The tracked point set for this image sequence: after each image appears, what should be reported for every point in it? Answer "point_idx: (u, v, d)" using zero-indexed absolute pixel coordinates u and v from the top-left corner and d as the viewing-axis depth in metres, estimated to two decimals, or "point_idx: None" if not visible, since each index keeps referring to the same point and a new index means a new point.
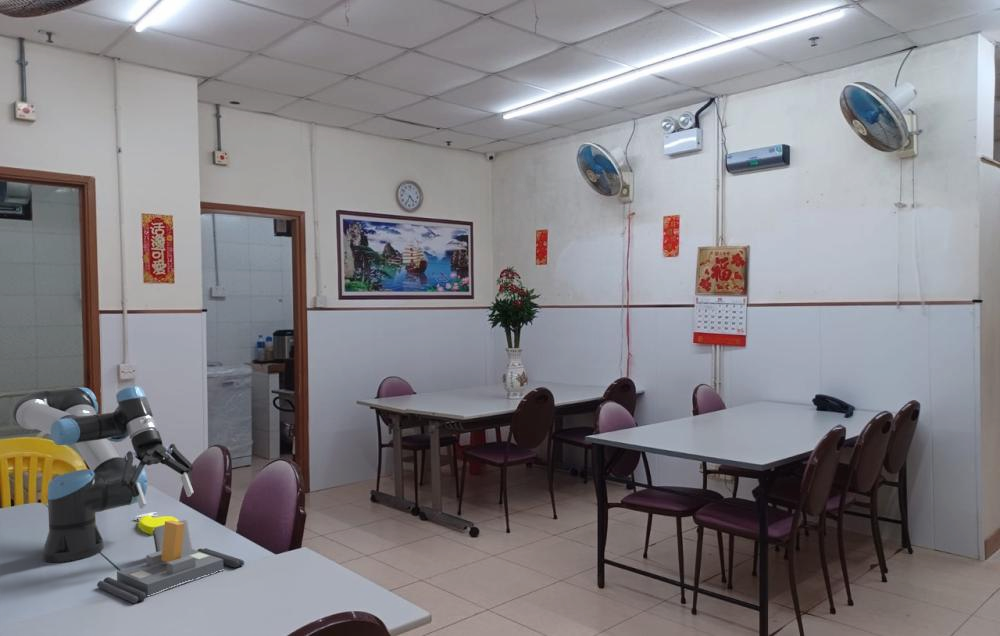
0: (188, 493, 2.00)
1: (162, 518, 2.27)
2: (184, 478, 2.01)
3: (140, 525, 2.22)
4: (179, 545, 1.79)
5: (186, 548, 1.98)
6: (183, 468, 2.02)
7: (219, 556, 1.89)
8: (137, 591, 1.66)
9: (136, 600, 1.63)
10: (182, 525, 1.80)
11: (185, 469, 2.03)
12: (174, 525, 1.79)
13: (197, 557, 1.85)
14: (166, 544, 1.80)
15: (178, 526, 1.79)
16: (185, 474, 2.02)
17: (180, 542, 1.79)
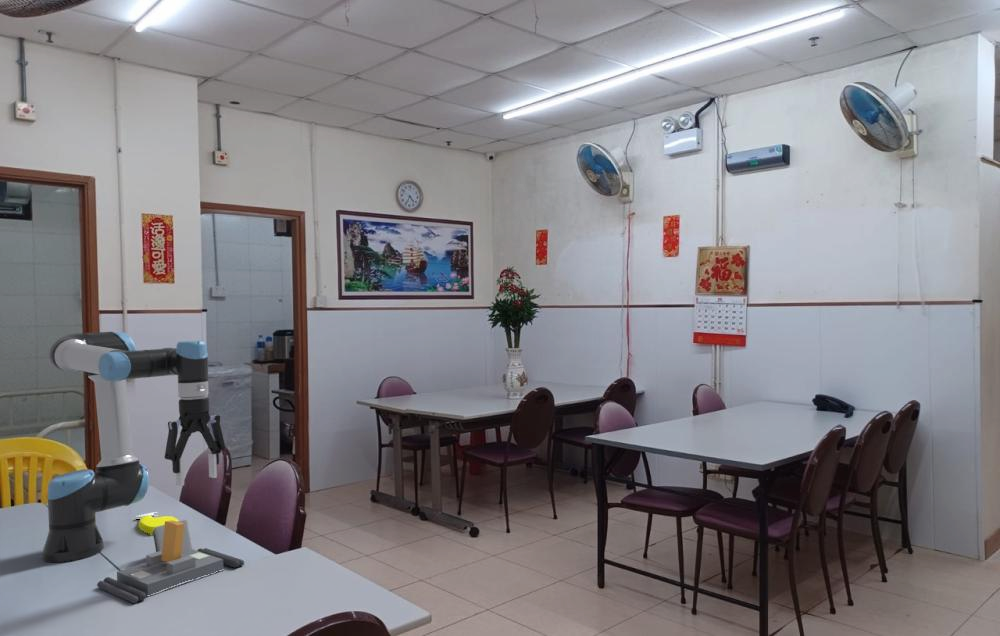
0: (211, 475, 1.90)
1: (162, 518, 2.27)
2: (212, 459, 1.90)
3: (140, 525, 2.22)
4: (179, 545, 1.79)
5: (186, 548, 1.98)
6: (215, 448, 1.90)
7: (219, 556, 1.89)
8: (137, 591, 1.66)
9: (136, 600, 1.63)
10: (182, 525, 1.80)
11: (216, 449, 1.90)
12: (174, 525, 1.79)
13: (197, 557, 1.85)
14: (166, 544, 1.80)
15: (178, 526, 1.79)
16: (214, 456, 1.89)
17: (180, 542, 1.79)
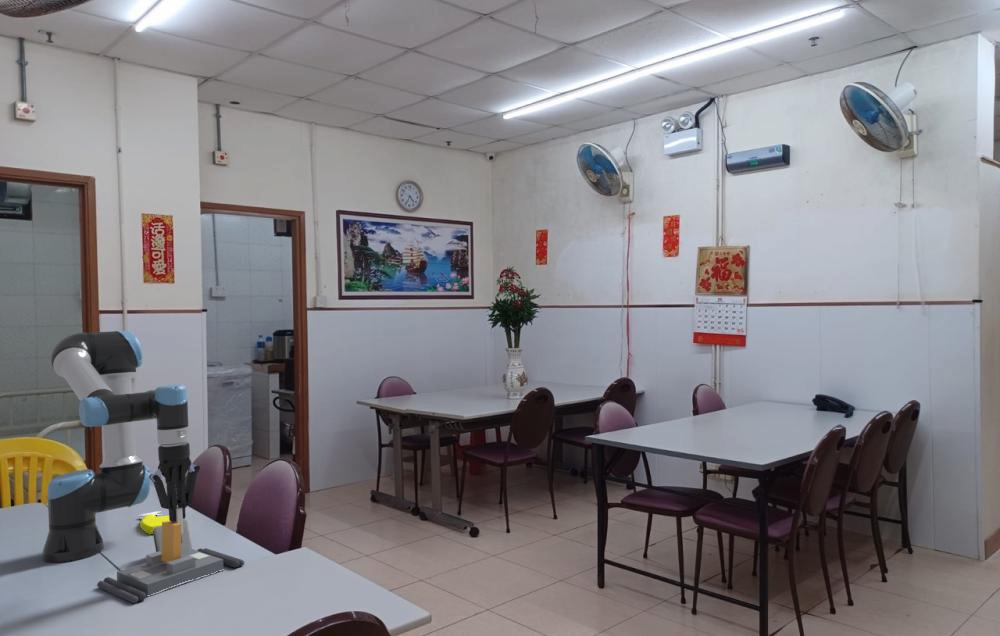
0: None
1: (163, 517, 2.27)
2: None
3: (141, 524, 2.23)
4: (178, 545, 1.79)
5: (186, 548, 1.98)
6: (182, 500, 1.82)
7: (219, 556, 1.89)
8: (137, 591, 1.66)
9: (136, 600, 1.63)
10: (179, 525, 1.79)
11: (183, 503, 1.82)
12: (171, 526, 1.79)
13: (197, 557, 1.85)
14: (165, 544, 1.80)
15: (175, 527, 1.78)
16: (180, 510, 1.81)
17: (179, 542, 1.79)
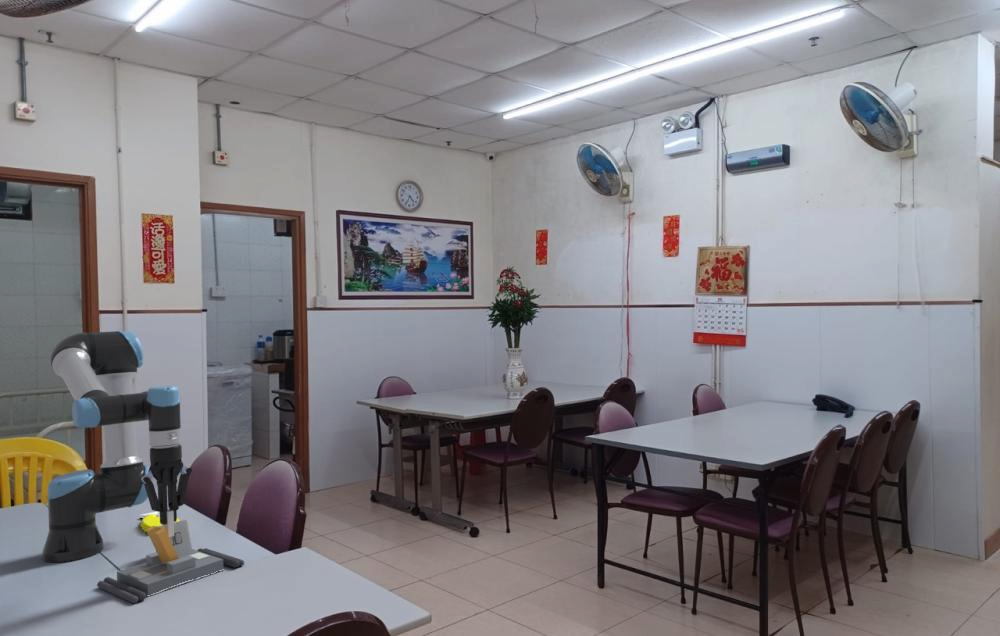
0: None
1: None
2: None
3: (142, 524, 2.23)
4: (170, 548, 1.77)
5: (186, 548, 1.98)
6: (174, 503, 1.80)
7: (219, 556, 1.89)
8: (137, 591, 1.66)
9: (136, 600, 1.63)
10: (164, 531, 1.76)
11: (174, 505, 1.80)
12: (156, 534, 1.75)
13: (197, 557, 1.85)
14: (158, 549, 1.79)
15: (160, 534, 1.75)
16: (171, 513, 1.79)
17: (170, 545, 1.77)
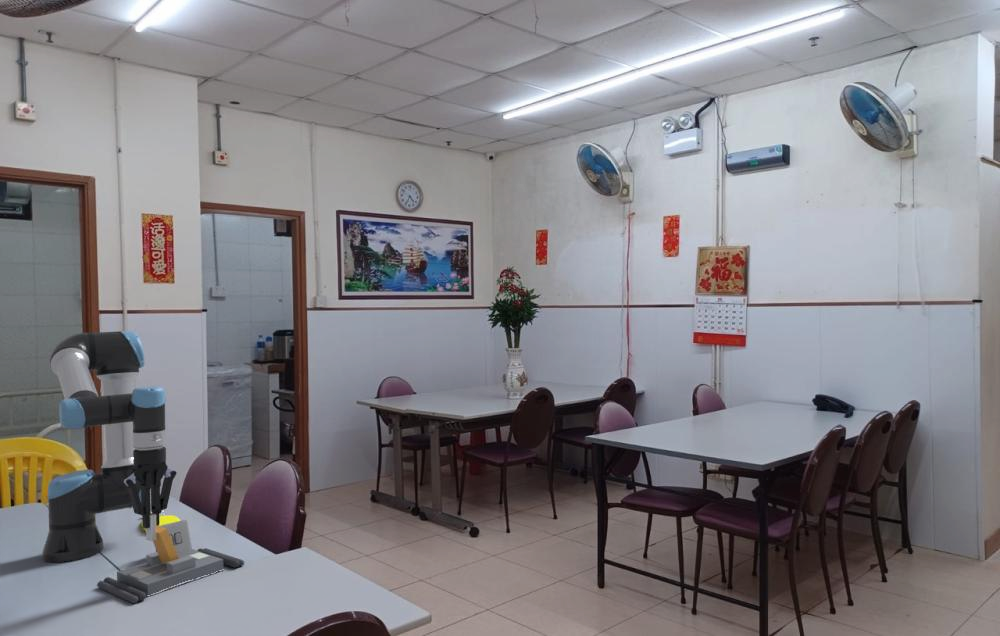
0: None
1: (165, 517, 2.28)
2: None
3: (142, 524, 2.24)
4: (171, 548, 1.77)
5: (186, 548, 1.98)
6: (157, 506, 1.76)
7: (219, 556, 1.89)
8: (137, 591, 1.66)
9: (136, 600, 1.63)
10: (165, 530, 1.76)
11: (157, 509, 1.76)
12: (157, 533, 1.76)
13: (197, 557, 1.85)
14: (159, 548, 1.79)
15: (161, 533, 1.75)
16: (154, 517, 1.76)
17: (171, 545, 1.77)
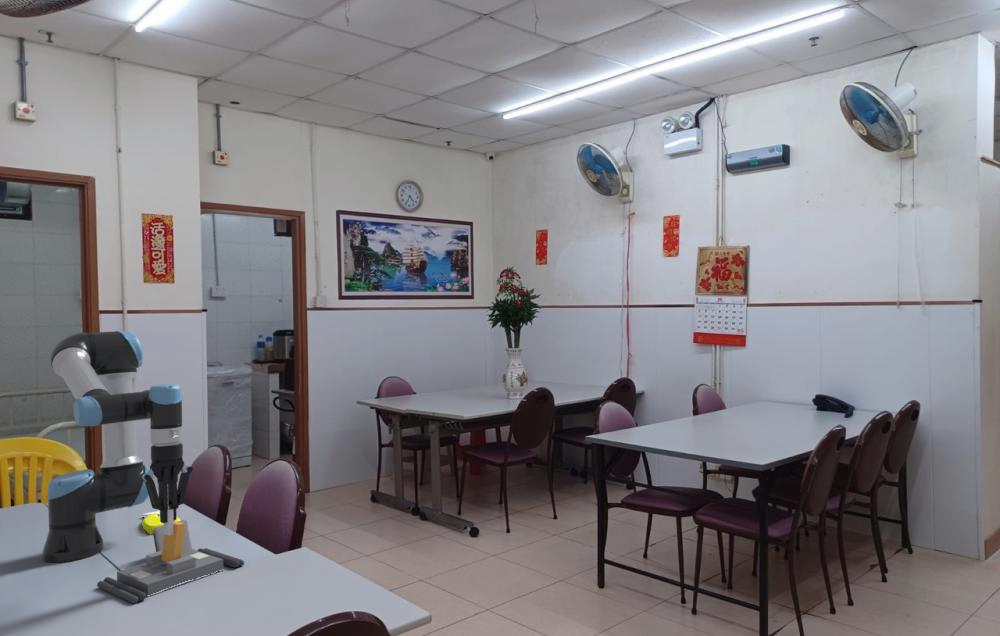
0: None
1: None
2: None
3: (143, 523, 2.24)
4: (179, 545, 1.79)
5: (186, 548, 1.98)
6: (174, 501, 1.80)
7: (219, 556, 1.89)
8: (137, 591, 1.66)
9: (136, 600, 1.63)
10: (183, 525, 1.80)
11: (174, 504, 1.80)
12: (175, 525, 1.79)
13: (197, 557, 1.85)
14: (166, 543, 1.81)
15: (179, 526, 1.79)
16: (171, 511, 1.79)
17: (180, 542, 1.79)
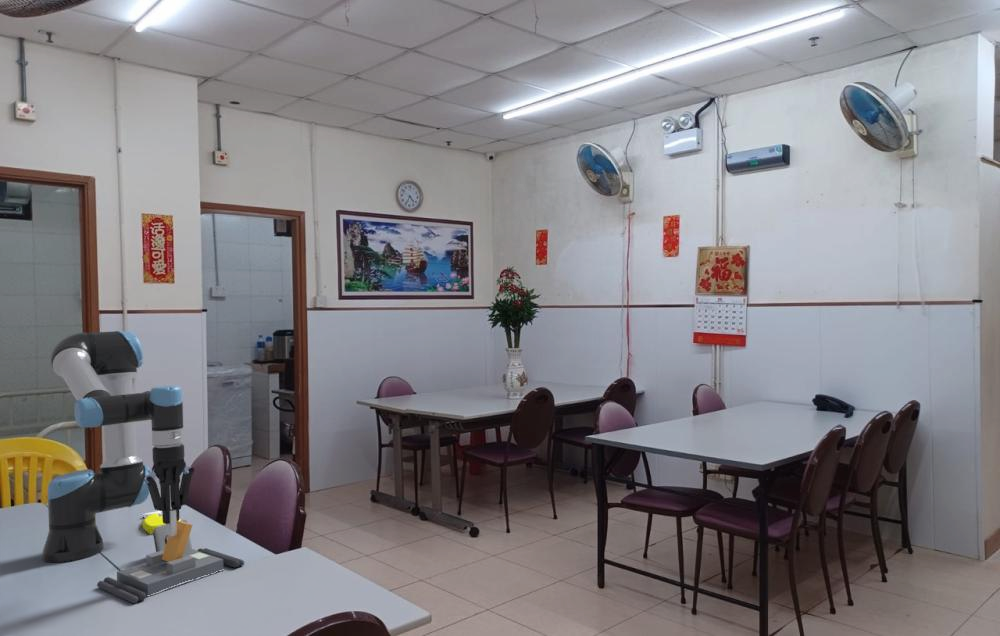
0: None
1: None
2: None
3: (143, 523, 2.24)
4: (183, 545, 1.80)
5: (186, 548, 1.98)
6: (176, 502, 1.81)
7: (219, 556, 1.89)
8: (137, 591, 1.66)
9: (136, 600, 1.63)
10: (190, 526, 1.82)
11: (177, 505, 1.81)
12: (183, 524, 1.81)
13: (197, 557, 1.85)
14: (170, 543, 1.81)
15: (186, 525, 1.81)
16: (174, 512, 1.80)
17: (184, 542, 1.80)
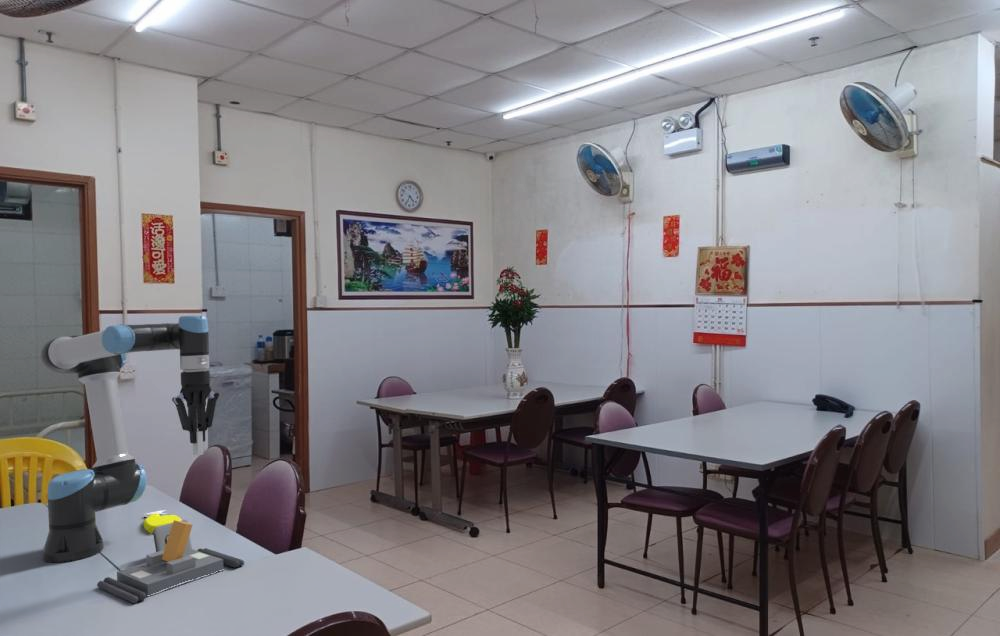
0: None
1: (166, 517, 2.28)
2: None
3: (144, 523, 2.24)
4: (183, 545, 1.80)
5: (186, 548, 1.98)
6: (203, 424, 1.93)
7: (219, 556, 1.89)
8: (137, 591, 1.66)
9: (136, 600, 1.63)
10: (190, 526, 1.82)
11: (203, 426, 1.93)
12: (183, 524, 1.81)
13: (197, 557, 1.85)
14: (170, 543, 1.81)
15: (186, 525, 1.81)
16: (200, 433, 1.93)
17: (185, 542, 1.80)
